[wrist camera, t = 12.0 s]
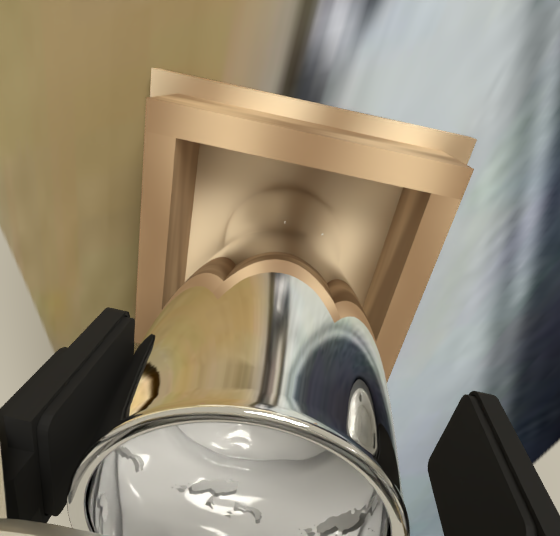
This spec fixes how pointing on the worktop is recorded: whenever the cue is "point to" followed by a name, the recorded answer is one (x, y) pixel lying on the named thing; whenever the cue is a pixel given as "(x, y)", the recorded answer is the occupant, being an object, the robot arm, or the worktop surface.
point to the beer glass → (251, 399)
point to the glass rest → (299, 176)
